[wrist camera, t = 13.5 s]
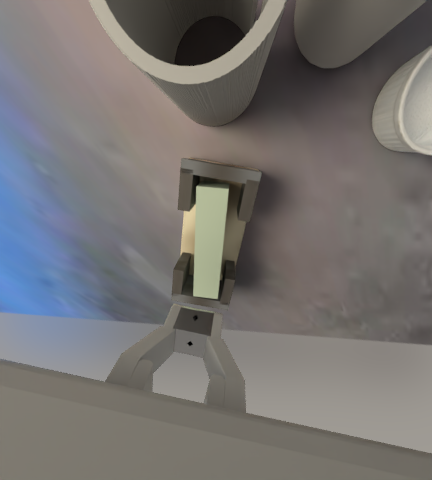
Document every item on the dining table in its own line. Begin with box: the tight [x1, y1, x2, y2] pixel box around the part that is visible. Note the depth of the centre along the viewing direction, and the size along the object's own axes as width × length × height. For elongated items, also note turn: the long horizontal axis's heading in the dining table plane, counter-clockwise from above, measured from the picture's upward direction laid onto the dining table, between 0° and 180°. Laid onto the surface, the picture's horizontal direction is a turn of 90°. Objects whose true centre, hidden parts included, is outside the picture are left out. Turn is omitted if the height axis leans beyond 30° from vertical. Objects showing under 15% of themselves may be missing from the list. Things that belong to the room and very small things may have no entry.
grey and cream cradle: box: [171, 158, 262, 310], centre depth 22 cm, size 8×17×5 cm, turn 171°
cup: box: [89, 0, 288, 126], centre depth 12 cm, size 9×9×12 cm
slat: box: [193, 181, 229, 299], centre depth 21 cm, size 3×13×5 cm, turn 176°
